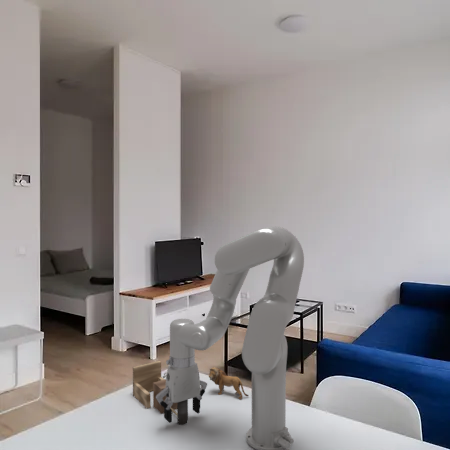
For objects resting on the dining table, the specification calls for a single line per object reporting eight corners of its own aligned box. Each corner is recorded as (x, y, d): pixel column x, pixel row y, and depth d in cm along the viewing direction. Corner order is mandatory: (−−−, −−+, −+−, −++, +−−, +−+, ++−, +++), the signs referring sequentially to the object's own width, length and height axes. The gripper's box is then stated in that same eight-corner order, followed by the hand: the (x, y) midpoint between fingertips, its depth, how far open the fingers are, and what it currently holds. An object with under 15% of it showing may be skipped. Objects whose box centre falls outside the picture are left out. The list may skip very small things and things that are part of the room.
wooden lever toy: (193, 421, 123) (193, 395, 123) (176, 427, 120) (176, 400, 120) (169, 401, 136) (169, 378, 136) (153, 406, 133) (153, 382, 133)
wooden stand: (175, 400, 138) (175, 371, 137) (147, 408, 132) (146, 378, 131) (159, 387, 147) (159, 360, 147) (132, 395, 141) (132, 366, 141)
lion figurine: (206, 394, 142) (206, 369, 142) (212, 388, 147) (211, 364, 147) (246, 400, 137) (246, 374, 137) (250, 394, 142) (250, 369, 142)
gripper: (162, 370, 114) (162, 430, 115) (212, 358, 124) (213, 413, 125) (150, 363, 120) (151, 419, 121) (200, 351, 130) (200, 403, 131)
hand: (182, 416), depth 123 cm, fingers open, 9 cm apart
